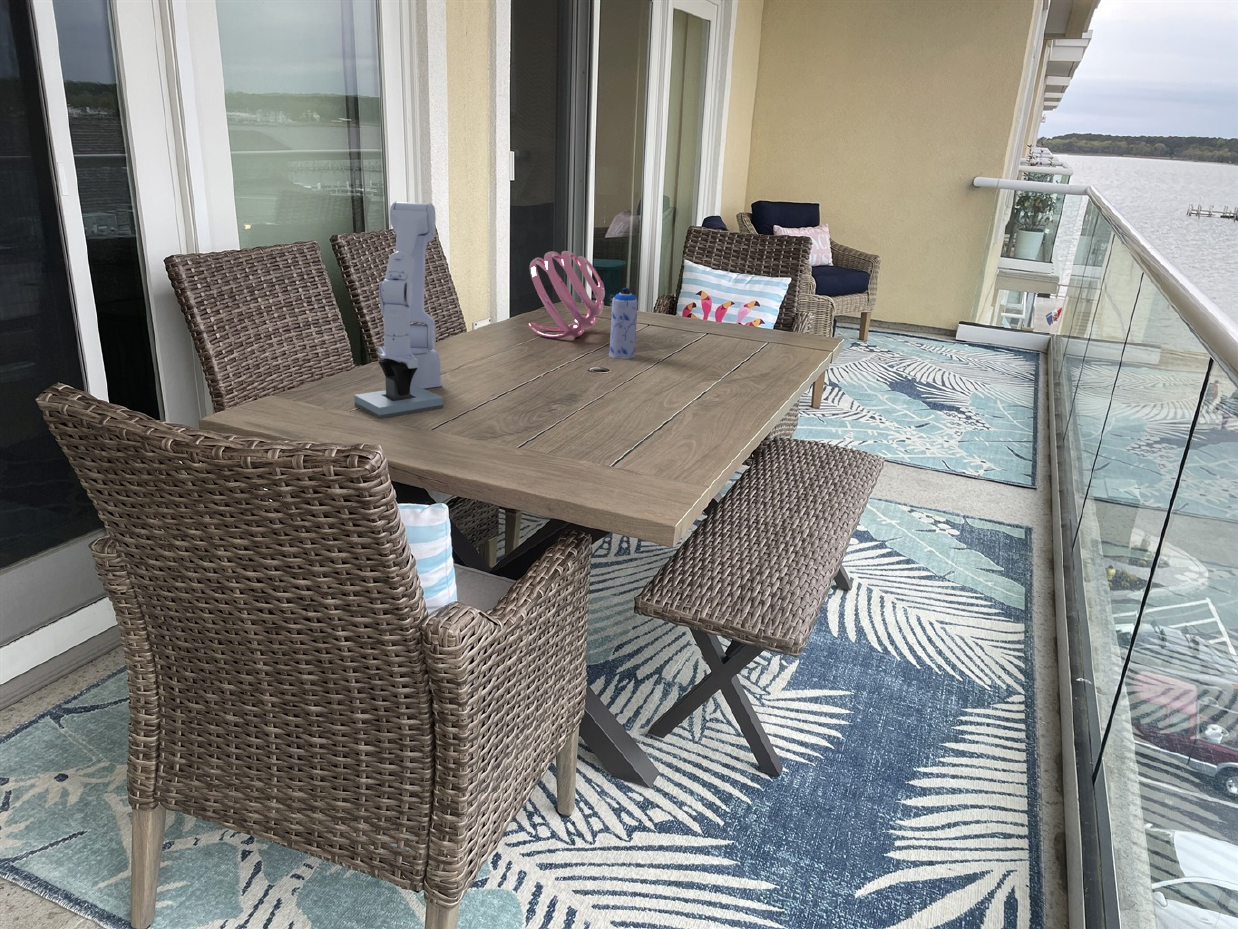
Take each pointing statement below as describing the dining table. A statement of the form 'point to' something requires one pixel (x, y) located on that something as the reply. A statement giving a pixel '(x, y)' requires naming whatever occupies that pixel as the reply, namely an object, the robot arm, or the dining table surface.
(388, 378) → the plug
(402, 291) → the robot arm
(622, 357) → the aerosol can
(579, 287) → the spiral basket
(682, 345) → the dining table surface
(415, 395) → the pale blue socket slab
